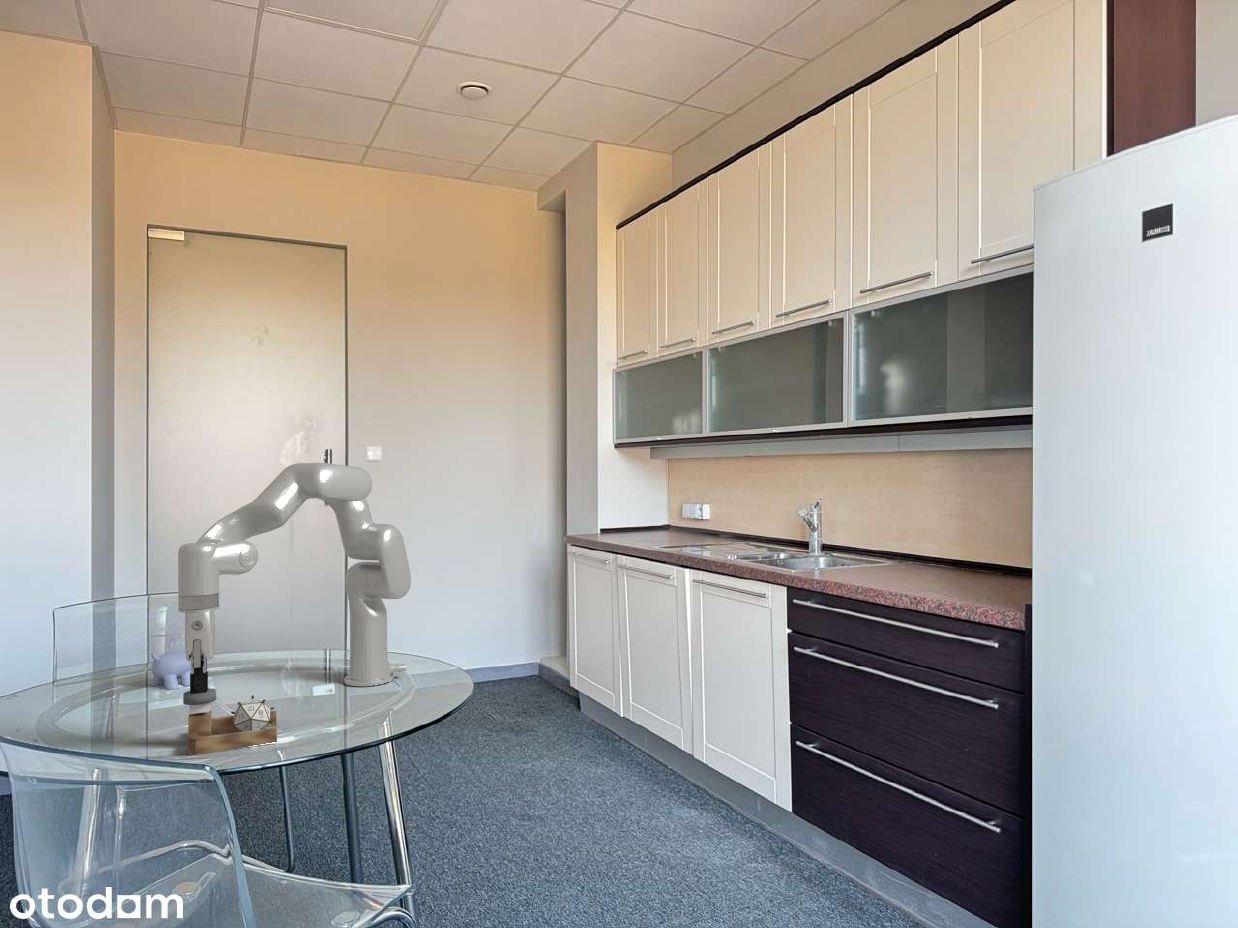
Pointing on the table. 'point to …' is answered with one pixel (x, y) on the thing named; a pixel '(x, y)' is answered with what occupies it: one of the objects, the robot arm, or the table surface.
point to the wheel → (199, 701)
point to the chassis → (205, 726)
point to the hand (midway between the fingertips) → (199, 692)
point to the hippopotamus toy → (171, 670)
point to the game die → (251, 715)
